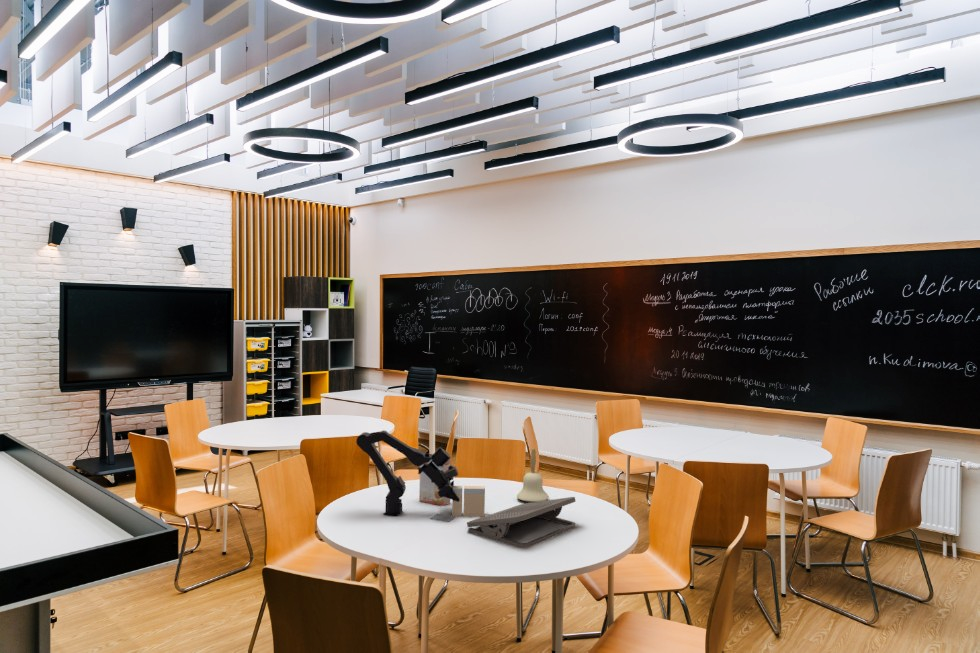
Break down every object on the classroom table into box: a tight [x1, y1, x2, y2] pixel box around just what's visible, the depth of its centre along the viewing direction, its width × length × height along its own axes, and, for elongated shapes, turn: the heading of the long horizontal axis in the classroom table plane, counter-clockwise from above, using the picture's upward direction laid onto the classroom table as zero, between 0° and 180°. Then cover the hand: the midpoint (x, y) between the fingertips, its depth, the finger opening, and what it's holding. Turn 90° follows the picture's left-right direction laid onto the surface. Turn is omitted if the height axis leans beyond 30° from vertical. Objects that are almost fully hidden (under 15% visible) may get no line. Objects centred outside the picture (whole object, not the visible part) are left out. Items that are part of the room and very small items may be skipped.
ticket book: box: [463, 485, 486, 517], centre depth 277 cm, size 9×5×12 cm, turn 91°
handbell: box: [516, 447, 549, 503], centre depth 301 cm, size 15×15×25 cm
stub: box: [451, 485, 463, 517], centre depth 277 cm, size 4×5×12 cm
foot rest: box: [466, 496, 577, 549], centre depth 260 cm, size 39×30×13 cm
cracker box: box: [418, 458, 452, 507], centre depth 295 cm, size 14×6×21 cm, turn 58°
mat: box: [429, 513, 457, 523], centre depth 272 cm, size 9×7×1 cm
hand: (459, 499), depth 277 cm, fingers closed on stub, 4 cm apart
